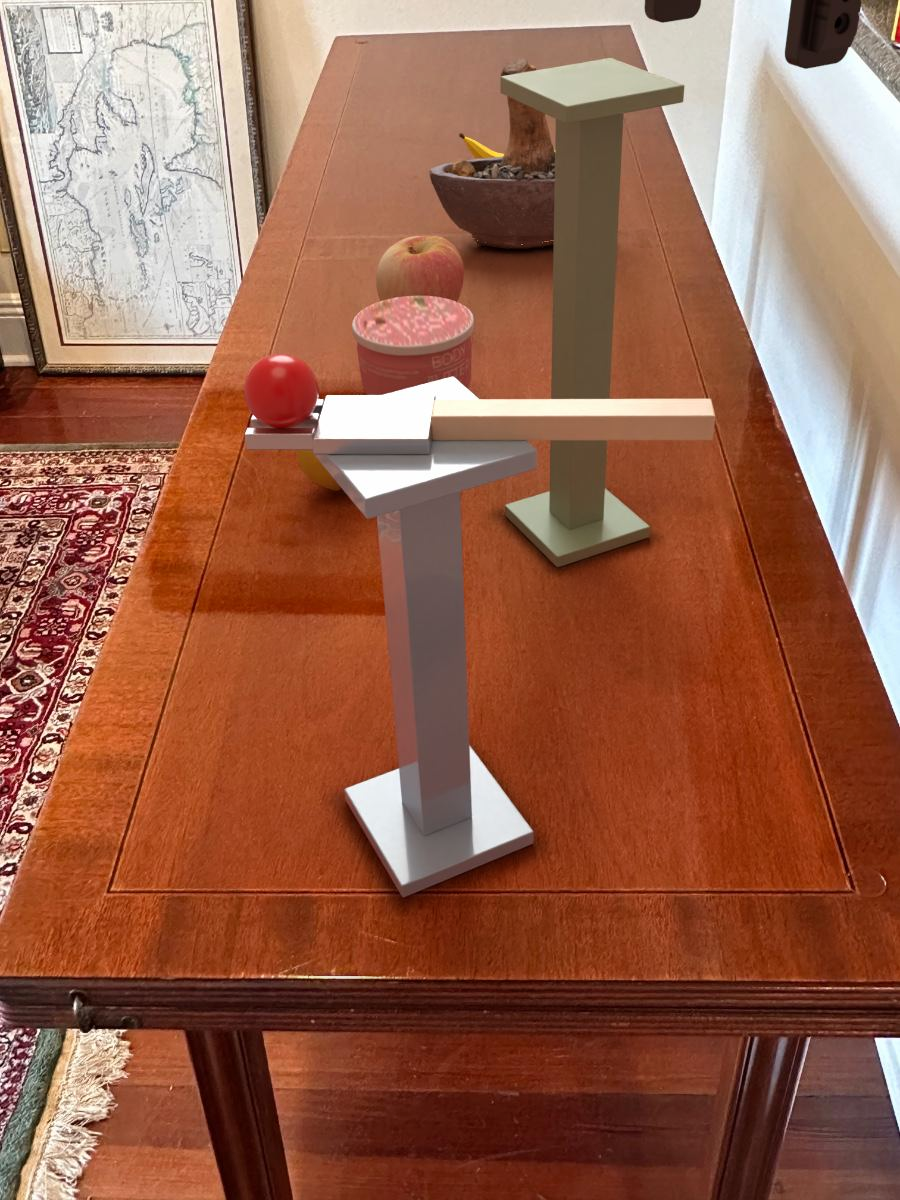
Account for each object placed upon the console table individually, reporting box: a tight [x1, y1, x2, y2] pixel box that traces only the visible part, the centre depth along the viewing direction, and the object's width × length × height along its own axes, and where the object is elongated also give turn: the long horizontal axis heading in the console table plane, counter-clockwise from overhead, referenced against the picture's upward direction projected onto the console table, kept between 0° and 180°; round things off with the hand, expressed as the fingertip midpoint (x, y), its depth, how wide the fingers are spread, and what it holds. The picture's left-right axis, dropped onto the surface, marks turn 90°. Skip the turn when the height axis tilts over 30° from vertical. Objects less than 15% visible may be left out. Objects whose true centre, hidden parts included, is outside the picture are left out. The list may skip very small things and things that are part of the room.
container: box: [351, 296, 475, 395], centre depth 105 cm, size 10×10×8 cm
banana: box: [458, 132, 555, 159], centre depth 153 cm, size 3×19×6 cm, turn 95°
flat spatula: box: [243, 353, 716, 454], centre depth 51 cm, size 20×4×4 cm, turn 86°
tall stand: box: [499, 57, 685, 568], centre depth 81 cm, size 8×8×32 cm
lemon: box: [295, 450, 342, 492], centre depth 94 cm, size 6×6×8 cm
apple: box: [375, 235, 465, 302], centre depth 119 cm, size 9×9×8 cm
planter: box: [429, 58, 555, 250], centre depth 131 cm, size 15×17×20 cm
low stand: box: [311, 377, 538, 898], centre depth 60 cm, size 8×8×25 cm
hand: (738, 40), depth 44 cm, fingers open, 8 cm apart
